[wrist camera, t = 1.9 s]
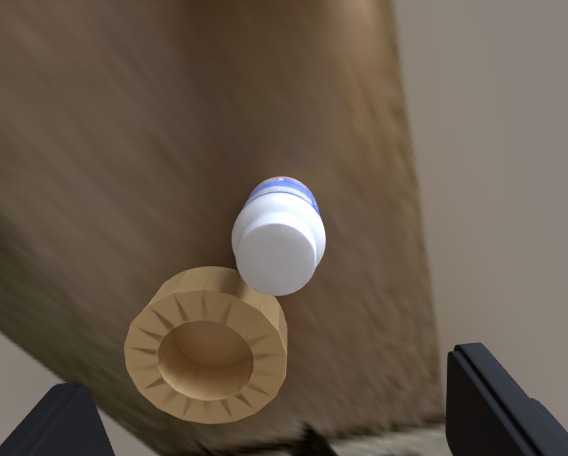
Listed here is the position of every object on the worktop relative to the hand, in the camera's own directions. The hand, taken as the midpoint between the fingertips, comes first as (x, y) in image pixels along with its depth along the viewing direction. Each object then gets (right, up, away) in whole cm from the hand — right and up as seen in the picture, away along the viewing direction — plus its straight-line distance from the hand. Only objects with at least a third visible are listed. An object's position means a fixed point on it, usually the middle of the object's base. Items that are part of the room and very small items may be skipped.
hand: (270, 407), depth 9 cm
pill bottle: (0, +6, +17) cm, 18 cm away
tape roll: (-6, -4, +20) cm, 21 cm away
